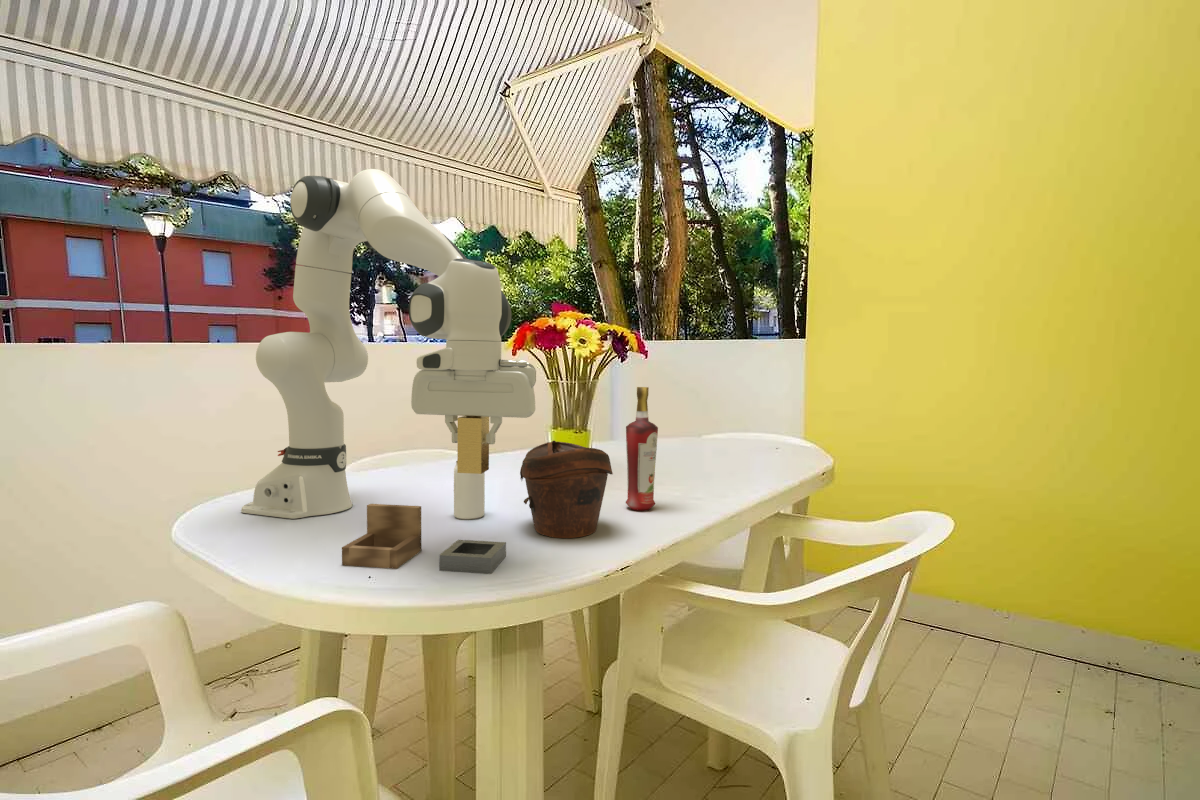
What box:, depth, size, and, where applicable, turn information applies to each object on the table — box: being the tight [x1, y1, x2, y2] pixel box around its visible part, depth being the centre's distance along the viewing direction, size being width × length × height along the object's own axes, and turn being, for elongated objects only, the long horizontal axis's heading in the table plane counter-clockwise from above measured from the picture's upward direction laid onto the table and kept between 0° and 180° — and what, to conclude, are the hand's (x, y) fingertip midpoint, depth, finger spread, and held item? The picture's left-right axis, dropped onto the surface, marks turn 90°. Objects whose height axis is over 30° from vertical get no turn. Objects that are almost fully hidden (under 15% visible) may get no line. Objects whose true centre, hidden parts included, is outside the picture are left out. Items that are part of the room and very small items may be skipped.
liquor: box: [625, 386, 659, 512], centre depth 142 cm, size 7×7×28 cm
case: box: [519, 440, 614, 539], centre depth 124 cm, size 18×20×18 cm
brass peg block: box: [456, 416, 490, 474], centre depth 102 cm, size 4×4×13 cm
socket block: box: [438, 539, 507, 575], centre depth 103 cm, size 9×9×2 cm
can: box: [453, 460, 486, 521], centre depth 133 cm, size 6×6×12 cm
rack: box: [341, 503, 422, 570], centre depth 105 cm, size 10×10×8 cm
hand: (473, 443), depth 102 cm, fingers closed on brass peg block, 4 cm apart
